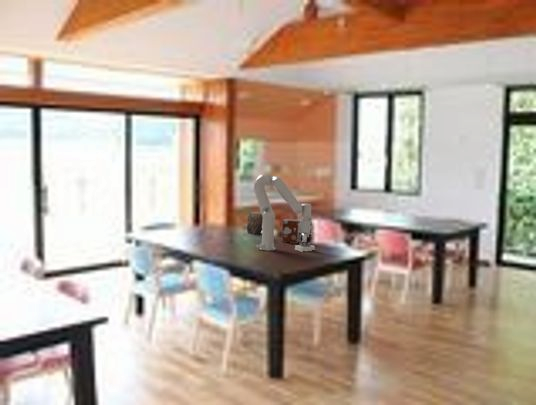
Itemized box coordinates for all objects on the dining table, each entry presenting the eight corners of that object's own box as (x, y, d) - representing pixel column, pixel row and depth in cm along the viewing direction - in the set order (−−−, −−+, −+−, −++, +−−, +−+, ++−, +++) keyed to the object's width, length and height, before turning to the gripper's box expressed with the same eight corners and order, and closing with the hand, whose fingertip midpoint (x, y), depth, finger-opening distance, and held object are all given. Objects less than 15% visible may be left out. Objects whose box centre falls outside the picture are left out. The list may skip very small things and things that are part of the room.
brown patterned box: (303, 244, 479) (304, 220, 477) (281, 242, 483) (281, 219, 481) (304, 242, 488) (305, 219, 486) (282, 240, 492) (283, 218, 490)
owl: (245, 232, 529) (246, 211, 527) (256, 231, 537) (256, 211, 535) (253, 234, 519) (254, 213, 517) (264, 233, 527) (265, 212, 525)
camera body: (301, 251, 444) (301, 244, 444) (294, 249, 452) (295, 243, 451) (314, 250, 451) (314, 243, 451) (307, 248, 459) (308, 241, 458)
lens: (304, 245, 448) (304, 233, 447) (300, 244, 452) (301, 232, 451) (309, 244, 450) (309, 233, 450) (305, 243, 455) (306, 232, 454)
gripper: (317, 219, 447) (316, 242, 449) (299, 217, 457) (298, 239, 459) (312, 220, 441) (311, 243, 443) (294, 218, 451) (293, 240, 453)
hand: (305, 241), depth 451 cm, fingers closed on lens, 5 cm apart
